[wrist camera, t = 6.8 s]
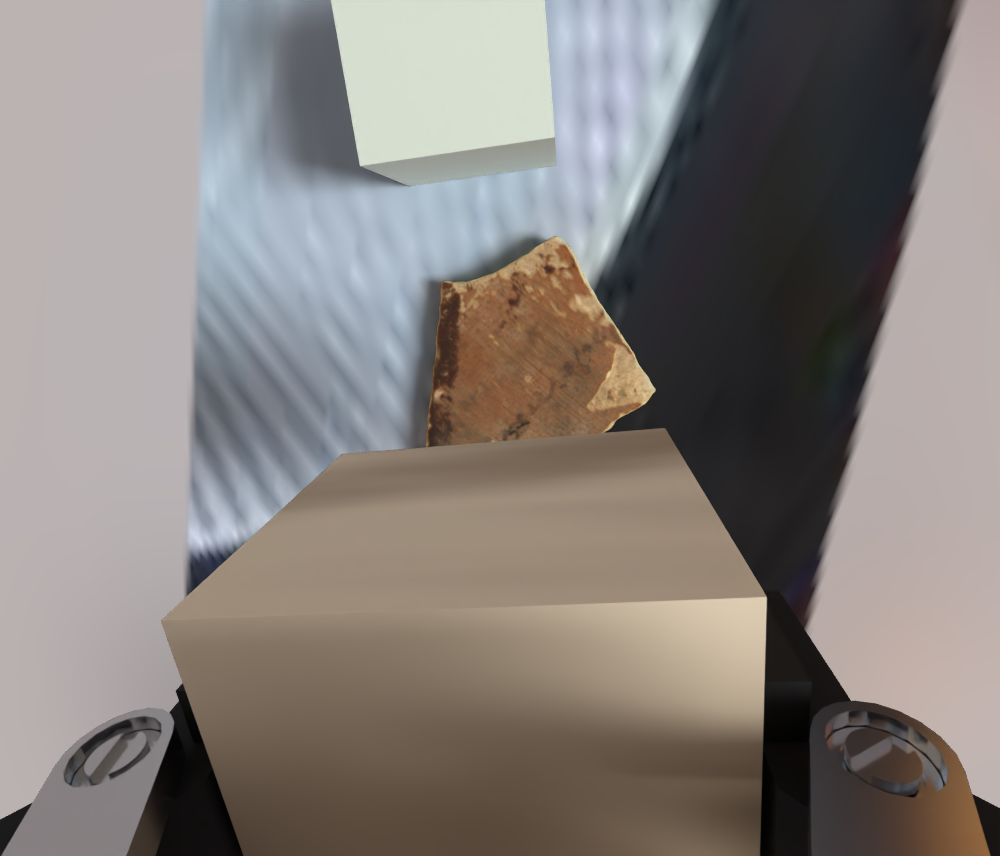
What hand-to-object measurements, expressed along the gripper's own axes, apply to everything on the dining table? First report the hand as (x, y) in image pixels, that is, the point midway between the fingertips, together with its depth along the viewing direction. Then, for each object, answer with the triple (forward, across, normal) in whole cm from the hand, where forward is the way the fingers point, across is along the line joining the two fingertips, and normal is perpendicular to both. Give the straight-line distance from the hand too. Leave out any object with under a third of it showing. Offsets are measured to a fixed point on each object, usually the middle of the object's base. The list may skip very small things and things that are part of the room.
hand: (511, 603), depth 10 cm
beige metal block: (+1, 0, 0) cm, 1 cm away
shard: (+12, 0, -1) cm, 12 cm away
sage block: (+11, +1, -11) cm, 16 cm away
